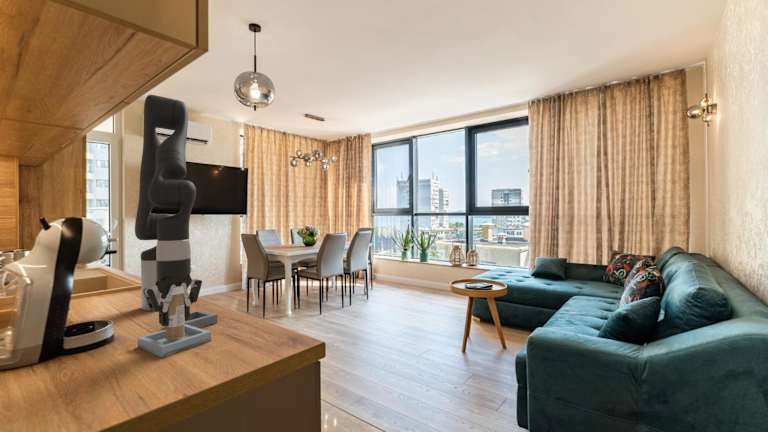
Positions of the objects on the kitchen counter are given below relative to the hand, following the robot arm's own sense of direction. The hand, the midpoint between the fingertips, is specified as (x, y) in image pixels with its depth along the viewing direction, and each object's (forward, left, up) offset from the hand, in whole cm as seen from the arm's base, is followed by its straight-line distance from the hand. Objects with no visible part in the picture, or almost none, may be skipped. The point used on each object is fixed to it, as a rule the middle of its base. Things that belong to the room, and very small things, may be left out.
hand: (174, 322), depth 89 cm
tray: (0, 0, -5) cm, 5 cm away
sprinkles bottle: (0, 0, -4) cm, 4 cm away
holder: (-11, +11, -5) cm, 16 cm away
